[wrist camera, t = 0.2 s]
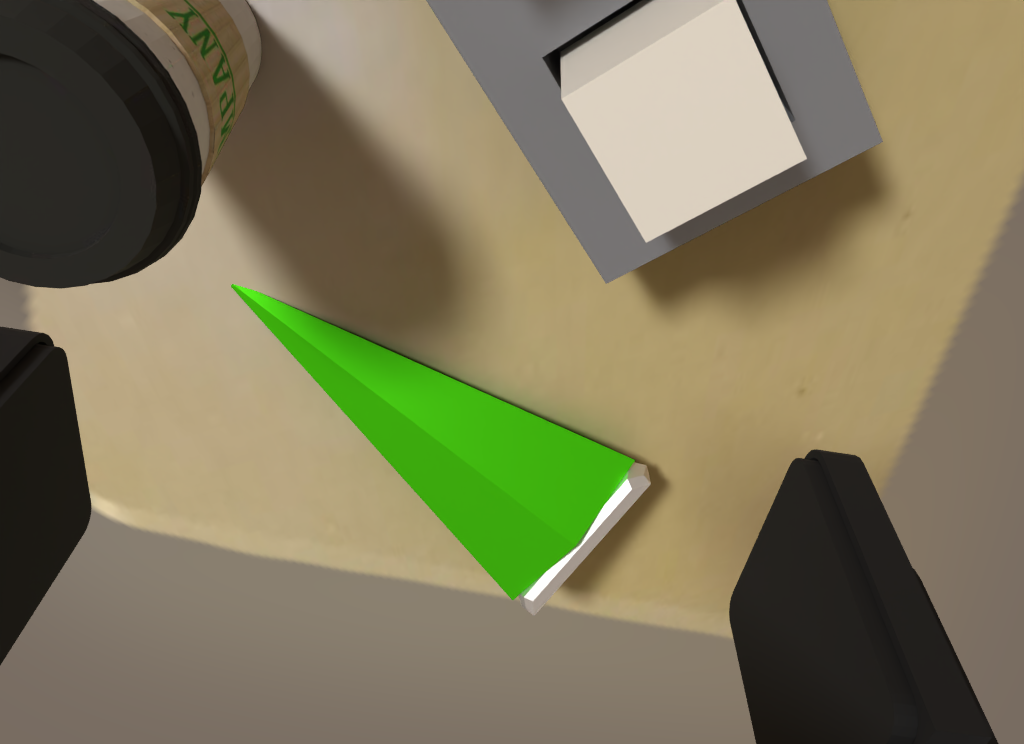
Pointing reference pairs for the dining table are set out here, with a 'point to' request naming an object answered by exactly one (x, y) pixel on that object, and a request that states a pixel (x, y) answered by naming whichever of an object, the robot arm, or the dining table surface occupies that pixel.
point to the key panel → (567, 156)
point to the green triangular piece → (470, 455)
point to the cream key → (677, 109)
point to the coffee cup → (112, 128)
